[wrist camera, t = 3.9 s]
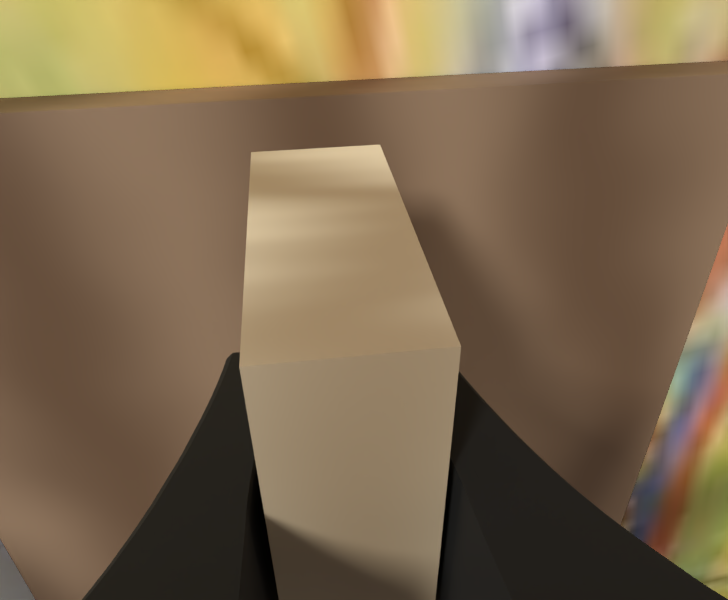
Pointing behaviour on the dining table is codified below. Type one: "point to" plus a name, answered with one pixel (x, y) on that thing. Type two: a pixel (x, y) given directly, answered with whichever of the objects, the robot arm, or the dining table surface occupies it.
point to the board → (433, 229)
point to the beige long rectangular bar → (345, 377)
